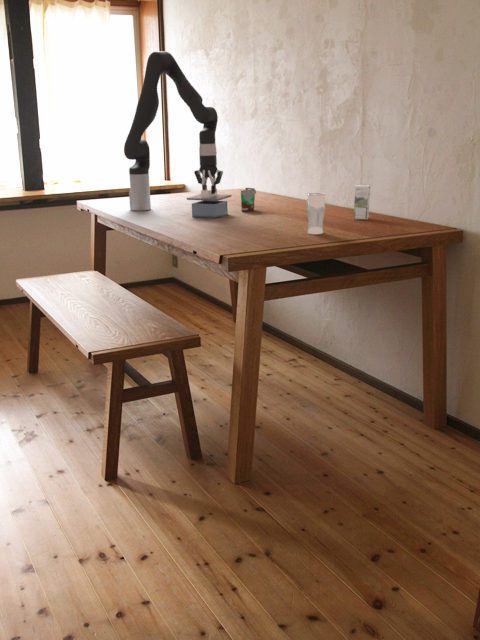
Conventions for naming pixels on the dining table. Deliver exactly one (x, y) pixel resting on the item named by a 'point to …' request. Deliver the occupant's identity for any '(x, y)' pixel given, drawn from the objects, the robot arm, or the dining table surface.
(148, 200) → the robot arm
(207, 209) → the dish
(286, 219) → the dining table surface
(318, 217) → the beer glass
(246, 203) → the food container
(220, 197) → the lid
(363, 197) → the syrup box
